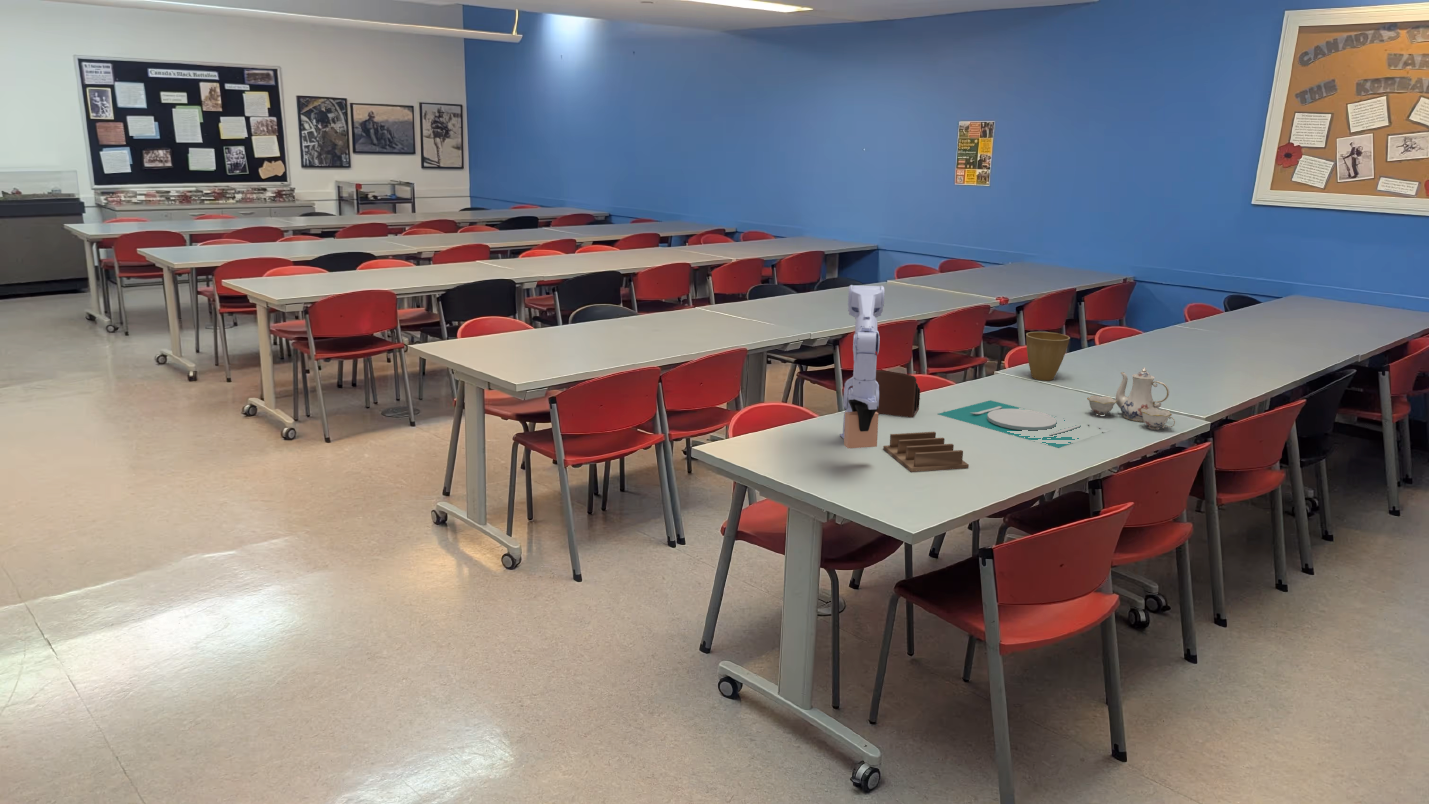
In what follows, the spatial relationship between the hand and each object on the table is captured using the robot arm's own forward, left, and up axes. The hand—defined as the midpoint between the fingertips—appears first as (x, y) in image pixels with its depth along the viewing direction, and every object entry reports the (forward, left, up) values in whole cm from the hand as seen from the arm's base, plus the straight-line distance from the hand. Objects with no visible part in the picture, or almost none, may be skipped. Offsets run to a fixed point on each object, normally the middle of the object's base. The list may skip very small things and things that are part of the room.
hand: (861, 428), depth 238 cm
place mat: (-29, +63, -11) cm, 70 cm away
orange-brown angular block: (0, 0, -5) cm, 5 cm away
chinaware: (-25, +99, -10) cm, 102 cm away
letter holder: (-48, +26, -10) cm, 56 cm away
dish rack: (-2, +19, -10) cm, 22 cm away
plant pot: (-79, +100, -10) cm, 128 cm away
